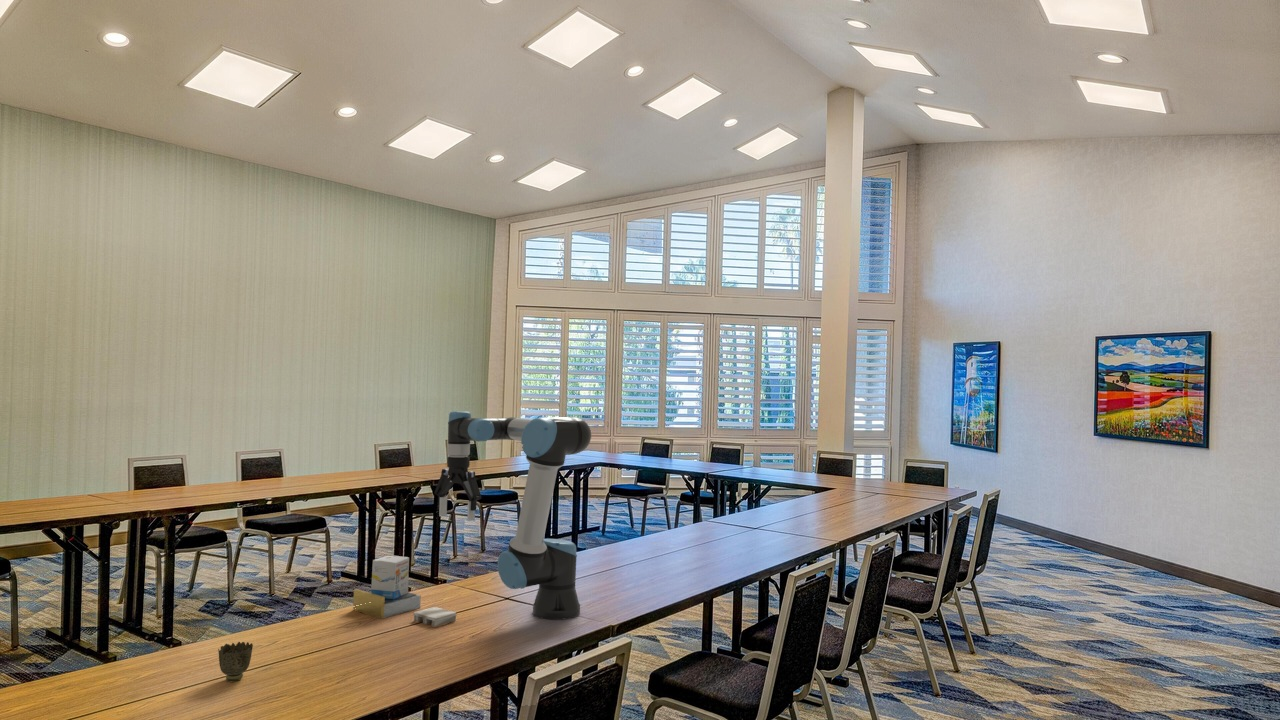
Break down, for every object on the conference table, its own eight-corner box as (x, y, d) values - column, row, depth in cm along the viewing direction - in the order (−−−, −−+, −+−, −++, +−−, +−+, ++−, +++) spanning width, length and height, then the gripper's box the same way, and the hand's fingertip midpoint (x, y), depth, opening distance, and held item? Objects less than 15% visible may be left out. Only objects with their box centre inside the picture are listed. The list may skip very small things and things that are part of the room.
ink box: (393, 600, 242) (395, 562, 243) (370, 597, 245) (371, 560, 245) (408, 593, 251) (410, 556, 251) (385, 590, 253) (387, 554, 253)
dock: (420, 607, 249) (421, 587, 250) (381, 618, 237) (381, 597, 237) (392, 599, 257) (393, 580, 257) (353, 610, 245) (353, 589, 245)
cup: (225, 673, 190) (226, 641, 190) (256, 673, 191) (257, 641, 191) (211, 685, 183) (212, 651, 183) (243, 685, 183) (245, 651, 184)
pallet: (456, 620, 237) (456, 612, 237) (435, 627, 230) (436, 618, 230) (434, 614, 243) (434, 606, 243) (413, 620, 236) (413, 612, 236)
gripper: (492, 457, 263) (491, 520, 262) (441, 453, 277) (439, 512, 276) (477, 459, 257) (475, 523, 256) (425, 454, 270) (423, 515, 270)
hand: (456, 518), depth 266 cm, fingers open, 13 cm apart
